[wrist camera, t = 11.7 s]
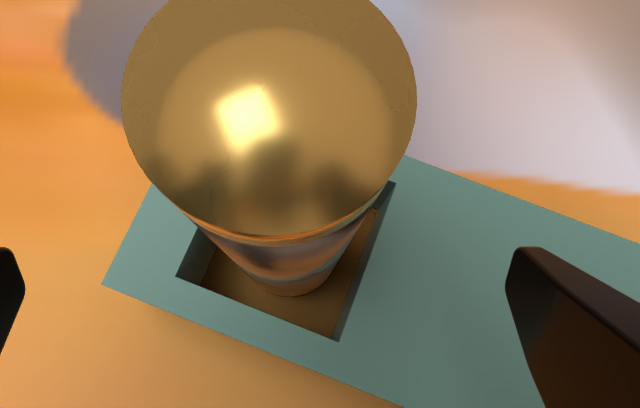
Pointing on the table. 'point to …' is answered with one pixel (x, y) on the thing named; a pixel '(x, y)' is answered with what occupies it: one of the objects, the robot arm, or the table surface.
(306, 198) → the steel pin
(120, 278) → the bar
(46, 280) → the table surface
